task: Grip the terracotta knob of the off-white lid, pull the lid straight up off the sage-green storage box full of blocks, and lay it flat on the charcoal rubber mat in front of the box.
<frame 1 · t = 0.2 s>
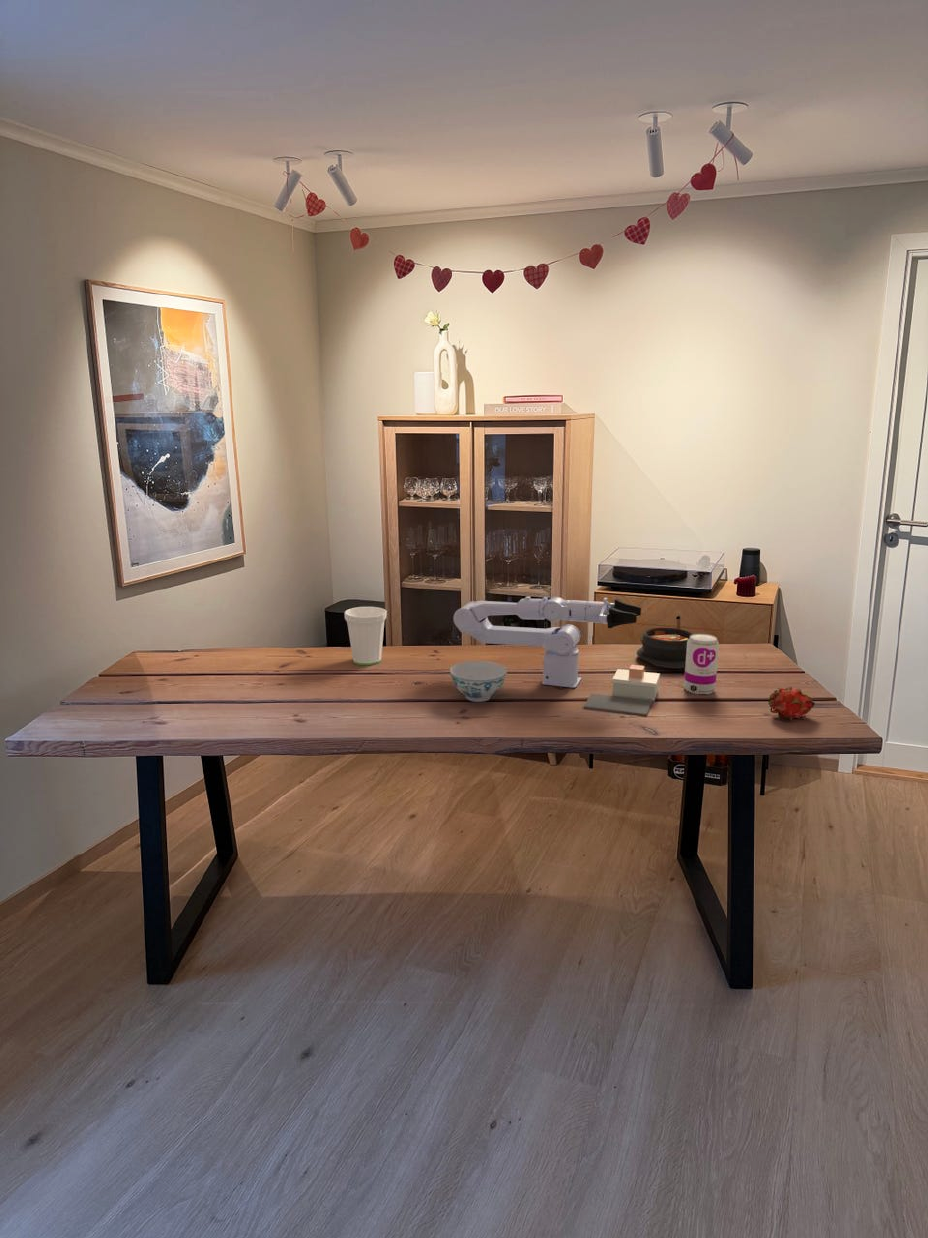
hand: (638, 614, 228), 21 cm above the table, tool horizontal, fingers open, 7 cm apart
mat: (618, 705, 223), on the table
casserole: (667, 661, 259), on the table
lid: (636, 682, 230), point 3 cm above the table, touching storage box
cup: (367, 661, 258), on the table
dragon fruit: (790, 717, 216), on the table
chinaware: (478, 698, 229), on the table
storage box: (635, 693, 231), on the table
supplement can: (699, 691, 234), on the table
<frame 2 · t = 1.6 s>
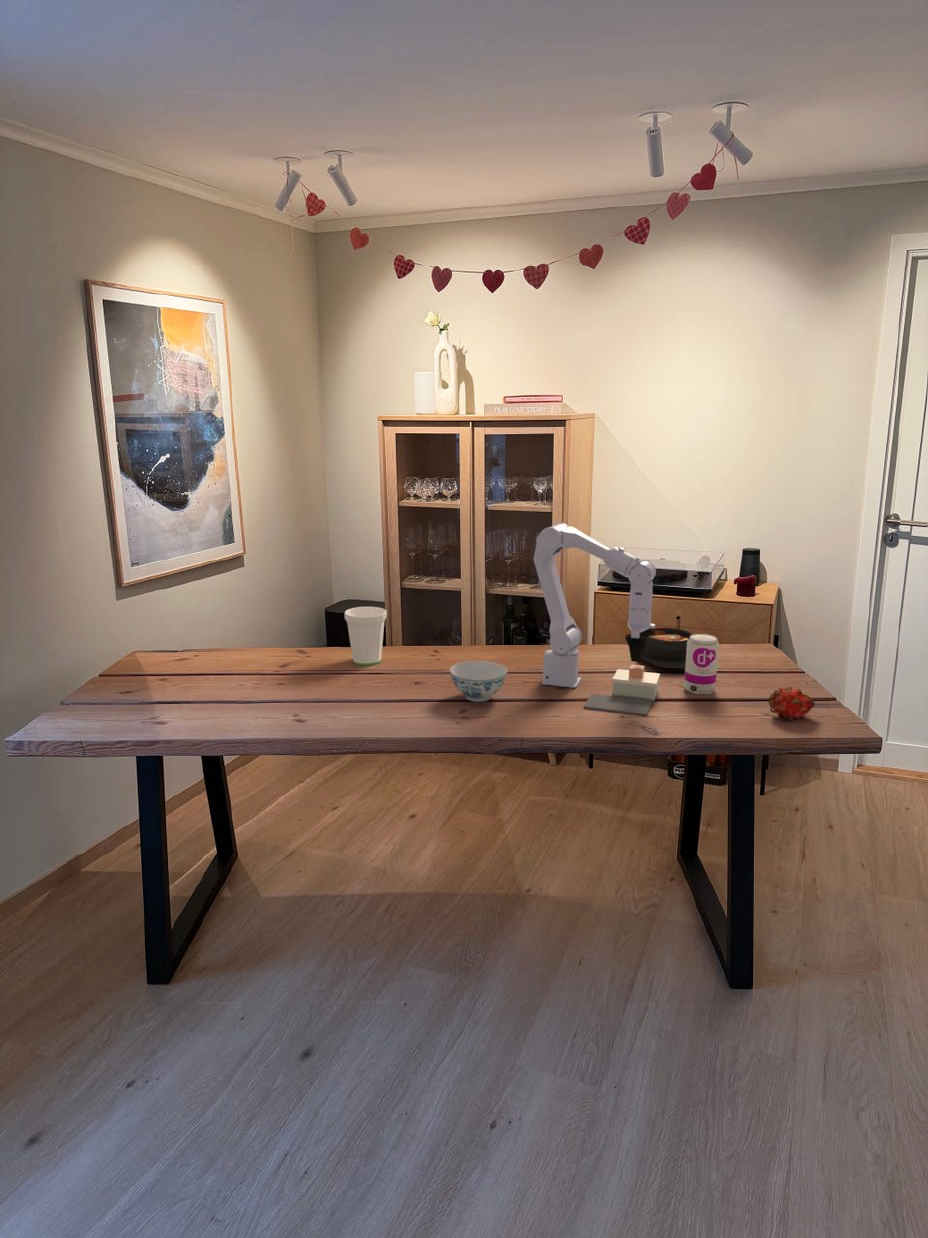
hand: (637, 656, 228), 10 cm above the table, tool pointing down, fingers open, 7 cm apart
nothing on the table moved.
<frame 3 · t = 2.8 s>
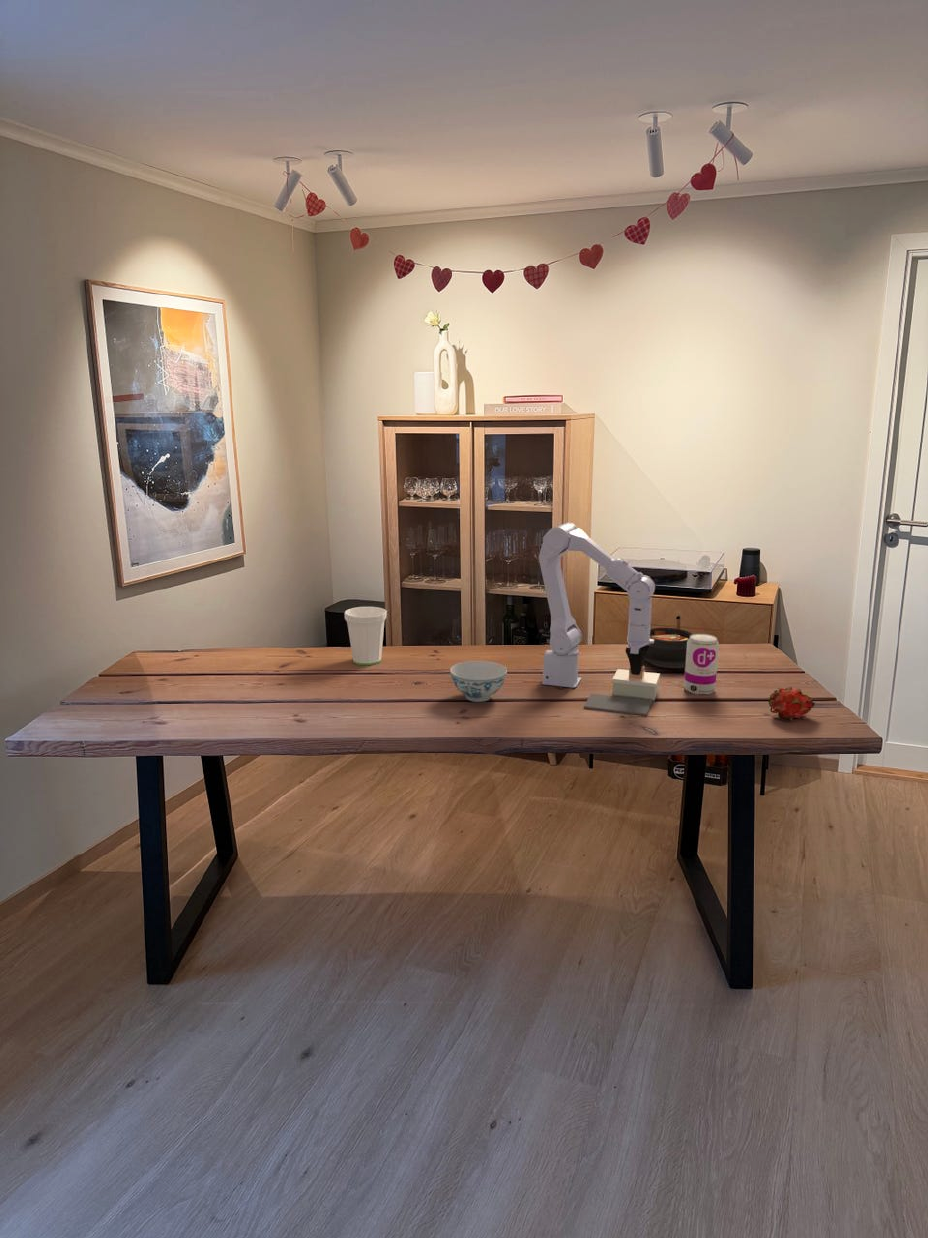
hand: (636, 671, 230), 6 cm above the table, tool pointing down, fingers closed on lid, 3 cm apart
lid: (636, 682, 230), point 3 cm above the table, touching gripper, storage box
everything else where it was.
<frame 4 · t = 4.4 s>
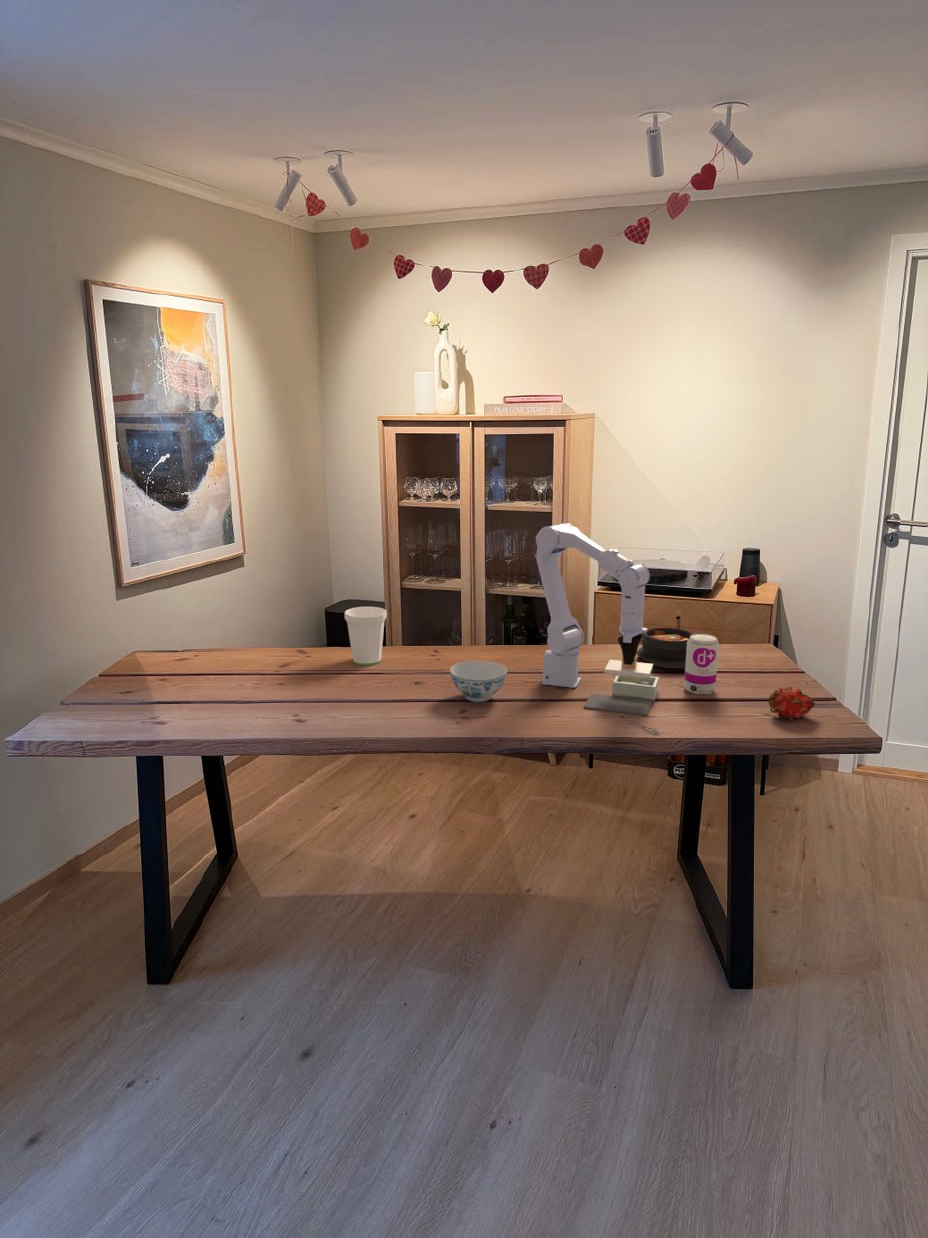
hand: (629, 661, 225), 10 cm above the table, tool pointing down, fingers closed on lid, 3 cm apart
lid: (628, 673, 225), point 7 cm above the table, touching gripper
everything else where it was.
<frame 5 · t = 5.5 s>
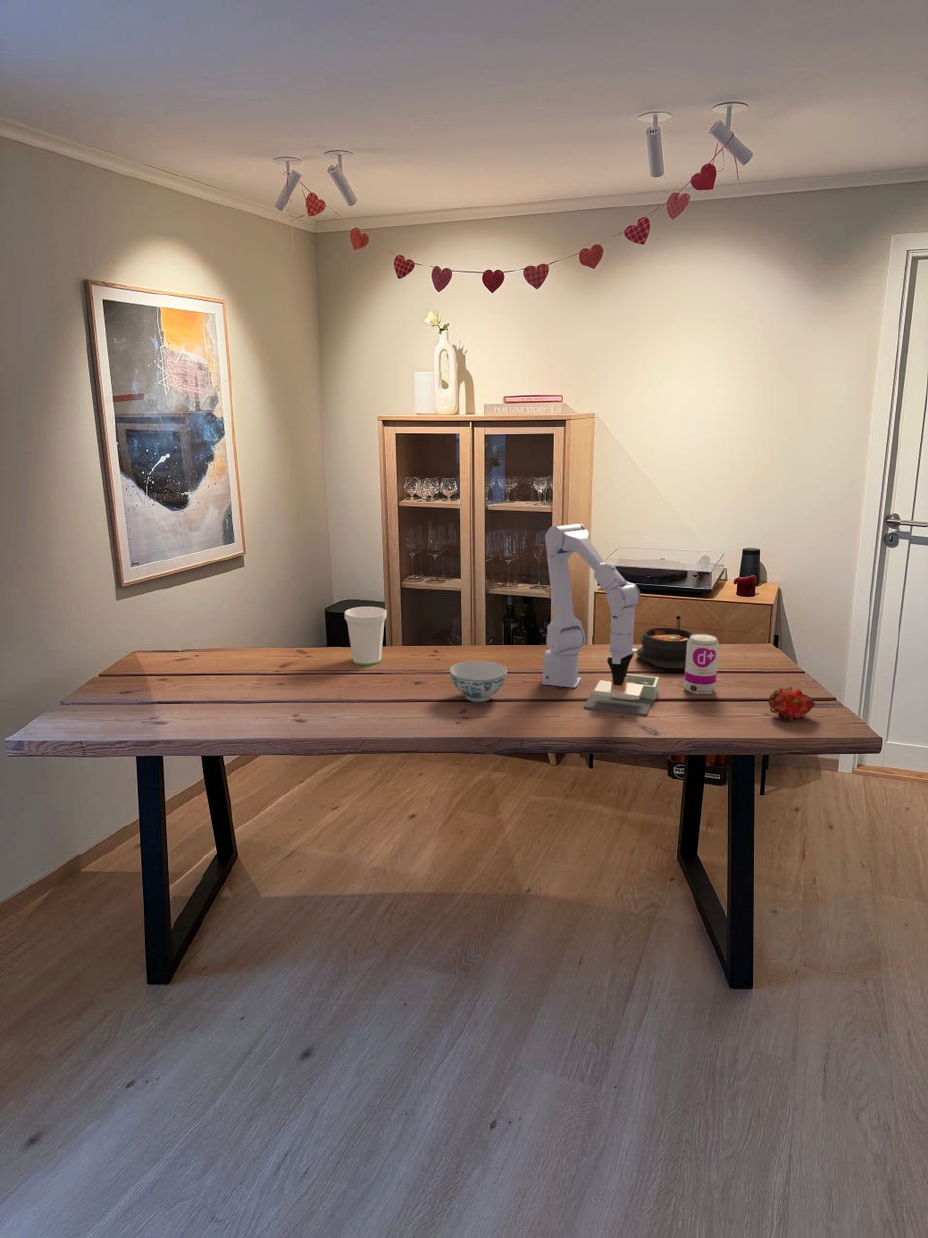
hand: (619, 682, 221), 6 cm above the table, tool pointing down, fingers closed on lid, 3 cm apart
lid: (618, 694, 222), point 3 cm above the table, touching gripper
everything else where it was.
when the fingers open (5 cm above the table, at t = 6.1 s): lid drops 1 cm, resting on mat.
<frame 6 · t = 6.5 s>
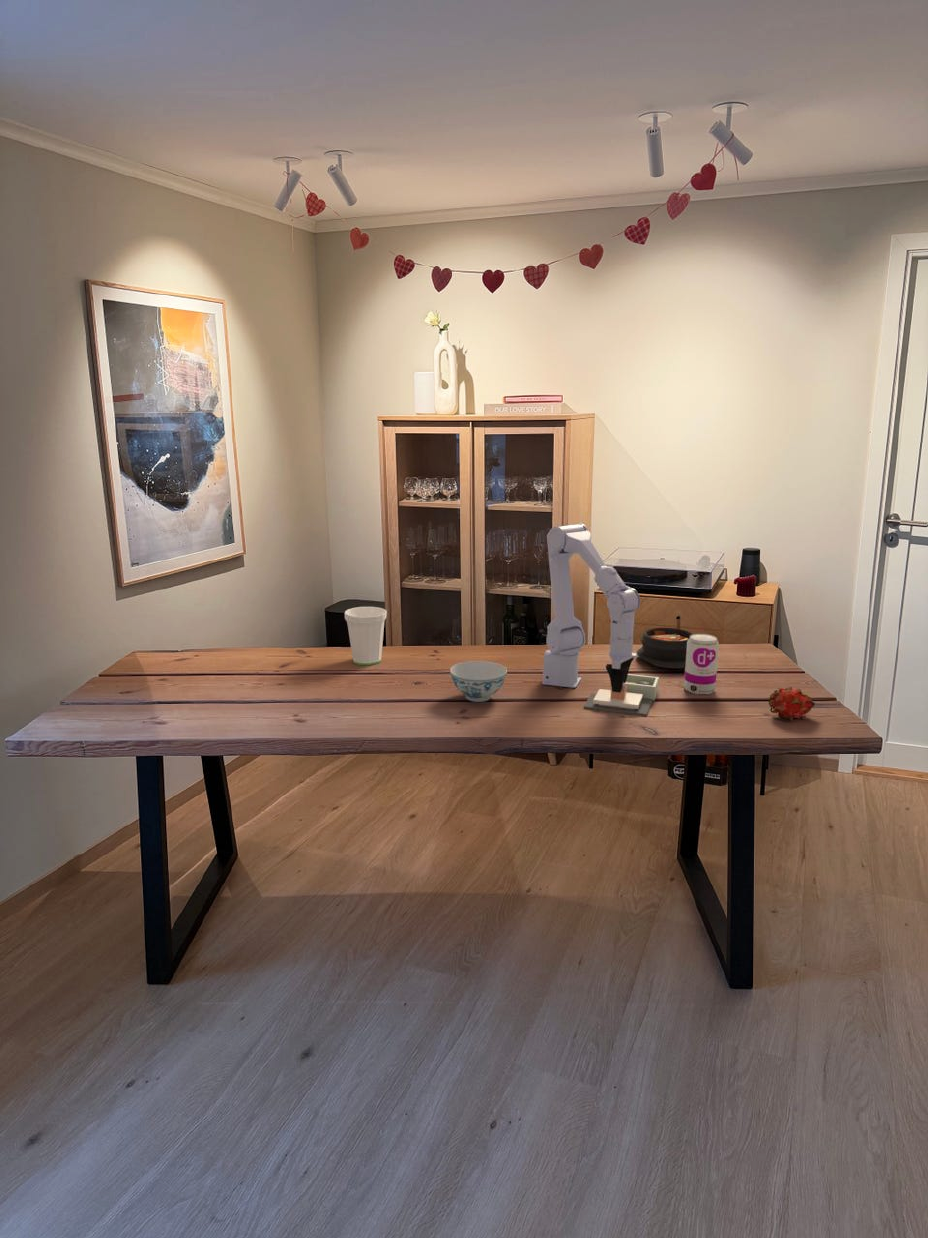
hand: (619, 687, 222), 5 cm above the table, tool pointing down, fingers open, 7 cm apart
lid: (618, 703, 223), resting on mat
everything else where it was.
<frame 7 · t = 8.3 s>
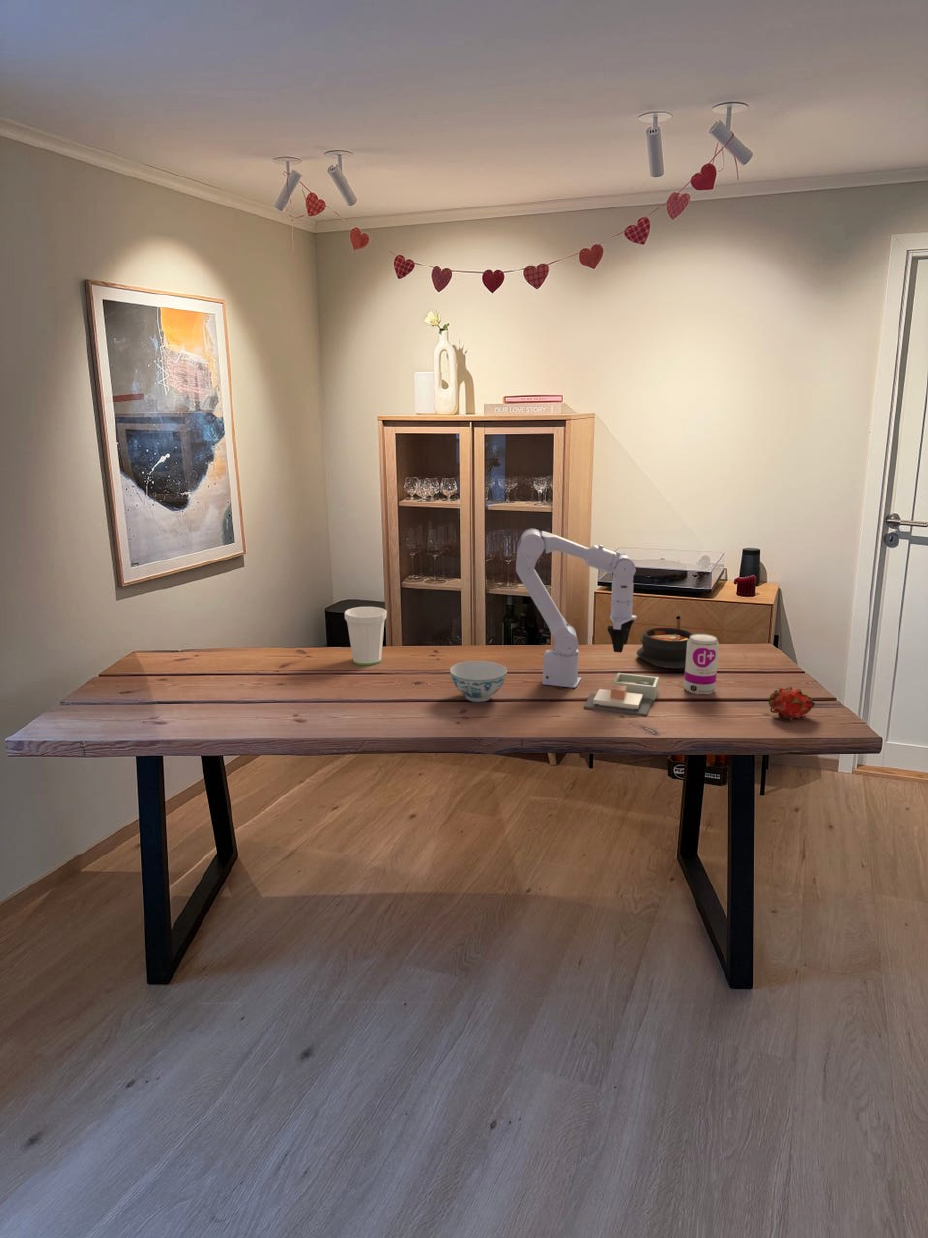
hand: (620, 647, 236), 10 cm above the table, tool pointing down, fingers open, 7 cm apart
nothing on the table moved.
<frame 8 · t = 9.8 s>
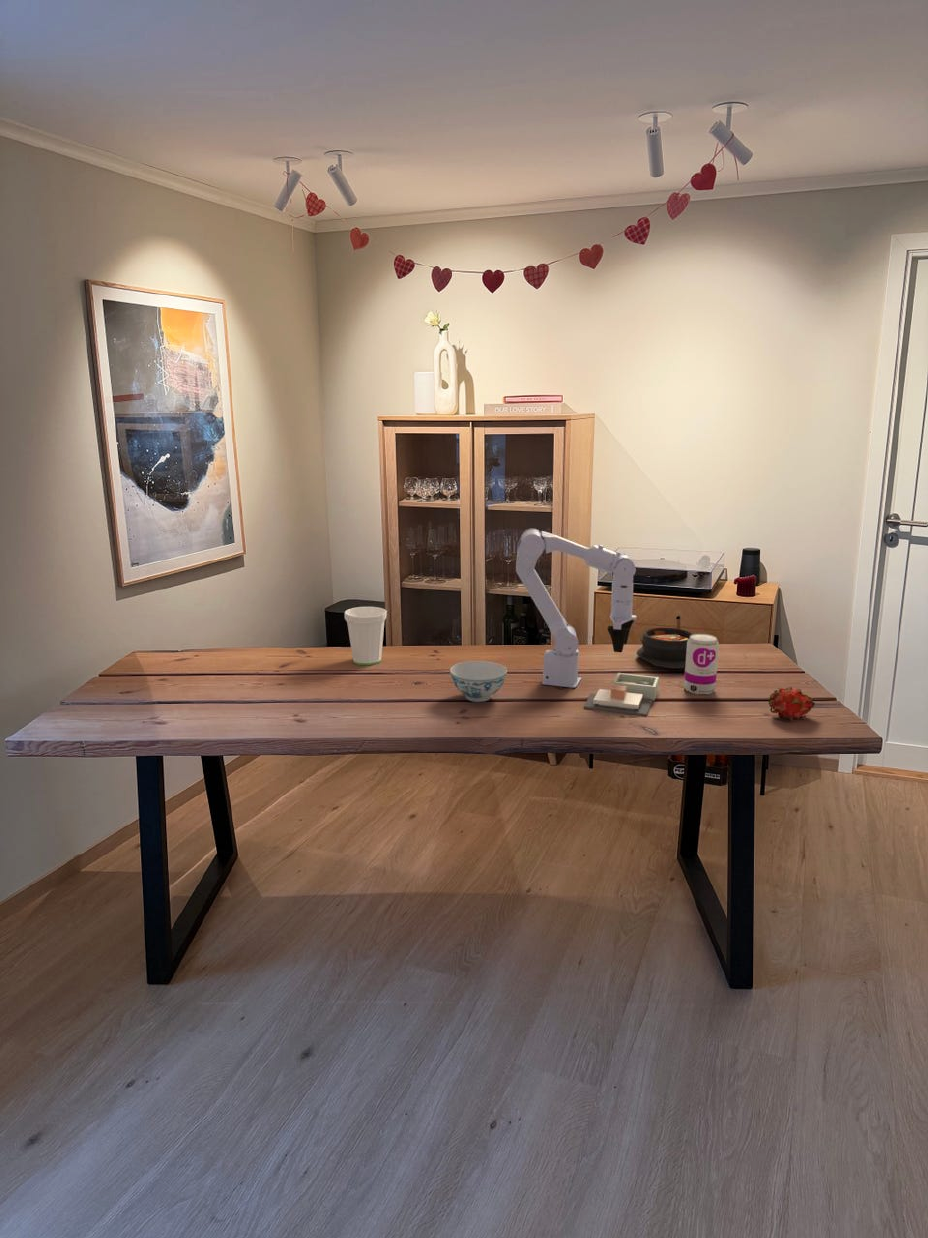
hand: (620, 647, 236), 10 cm above the table, tool pointing down, fingers open, 7 cm apart
nothing on the table moved.
at the end: lid 0.0 cm off-centre on the mat, point 0.5 cm above the mat's base; lid tilted 0°; the gripper is holding nothing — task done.
